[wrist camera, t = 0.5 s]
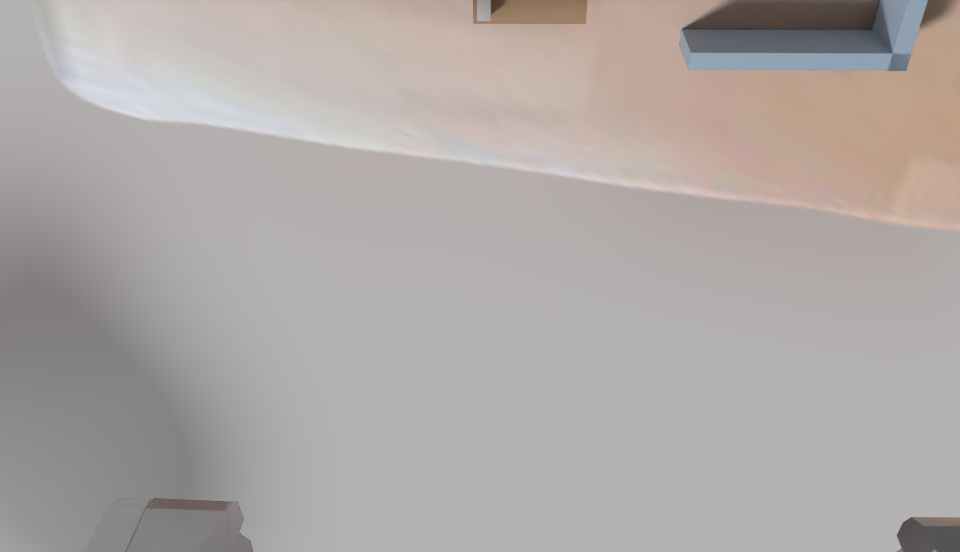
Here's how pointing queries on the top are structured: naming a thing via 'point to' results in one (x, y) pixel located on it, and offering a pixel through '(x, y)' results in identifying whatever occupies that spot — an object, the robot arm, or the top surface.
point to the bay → (811, 45)
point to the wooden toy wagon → (529, 11)
